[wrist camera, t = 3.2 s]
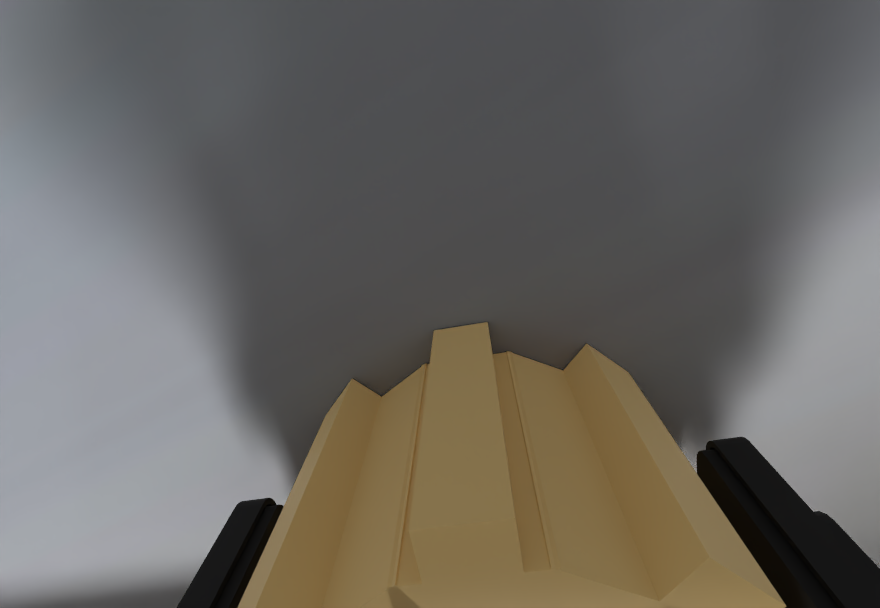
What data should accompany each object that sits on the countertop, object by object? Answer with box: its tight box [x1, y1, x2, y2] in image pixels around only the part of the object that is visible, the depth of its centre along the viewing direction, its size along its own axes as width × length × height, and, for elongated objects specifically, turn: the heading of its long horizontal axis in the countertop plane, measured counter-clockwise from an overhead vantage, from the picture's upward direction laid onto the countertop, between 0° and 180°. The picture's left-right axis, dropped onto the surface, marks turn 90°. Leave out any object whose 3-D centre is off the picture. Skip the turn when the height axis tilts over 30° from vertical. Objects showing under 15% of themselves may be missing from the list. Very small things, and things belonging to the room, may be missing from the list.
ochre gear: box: [238, 322, 786, 608], centre depth 8 cm, size 7×7×5 cm
